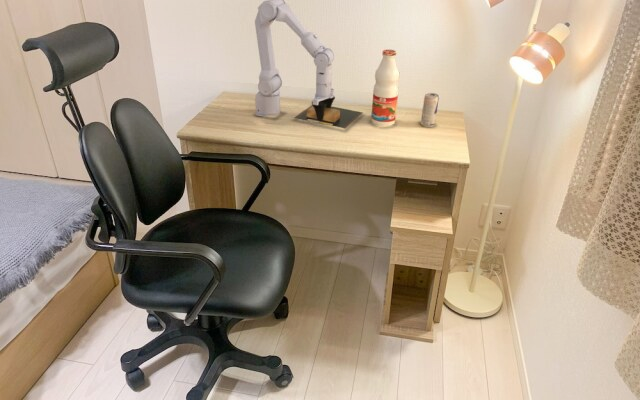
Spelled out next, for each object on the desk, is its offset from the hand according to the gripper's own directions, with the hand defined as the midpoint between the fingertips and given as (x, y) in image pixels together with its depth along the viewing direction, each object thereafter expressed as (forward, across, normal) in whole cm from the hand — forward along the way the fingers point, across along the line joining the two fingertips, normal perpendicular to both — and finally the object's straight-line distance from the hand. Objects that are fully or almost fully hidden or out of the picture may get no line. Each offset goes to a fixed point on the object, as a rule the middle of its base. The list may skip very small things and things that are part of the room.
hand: (323, 116), depth 186 cm
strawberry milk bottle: (+3, +10, -21) cm, 24 cm away
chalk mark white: (+1, -3, +3) cm, 4 cm away
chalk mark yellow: (+1, -3, -3) cm, 4 cm away
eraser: (+1, 0, 0) cm, 1 cm away
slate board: (+2, +6, 0) cm, 6 cm away
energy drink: (+3, +18, -37) cm, 41 cm away
